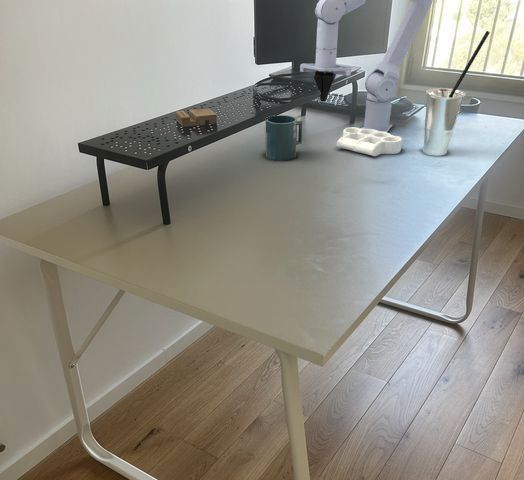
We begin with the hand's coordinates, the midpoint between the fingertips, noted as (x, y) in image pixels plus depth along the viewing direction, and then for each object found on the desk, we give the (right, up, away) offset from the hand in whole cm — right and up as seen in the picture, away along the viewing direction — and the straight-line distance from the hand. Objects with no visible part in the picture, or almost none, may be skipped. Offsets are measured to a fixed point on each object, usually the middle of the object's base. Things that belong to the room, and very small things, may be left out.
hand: (323, 100), depth 162 cm
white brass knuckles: (+12, -16, -5) cm, 20 cm away
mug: (-12, -19, -9) cm, 24 cm away
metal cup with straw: (+31, -18, -8) cm, 37 cm away
